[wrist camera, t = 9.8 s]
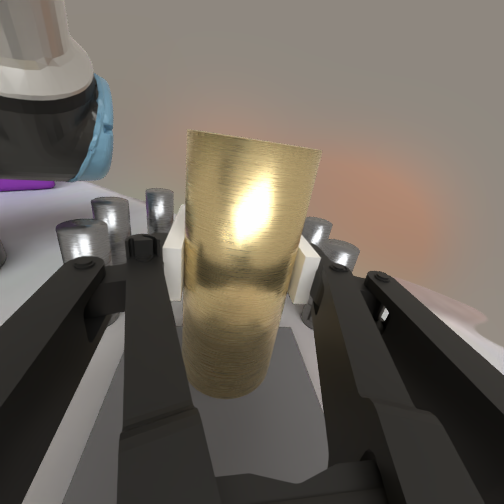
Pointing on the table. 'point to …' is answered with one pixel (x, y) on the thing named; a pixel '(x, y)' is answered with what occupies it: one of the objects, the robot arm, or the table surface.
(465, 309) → the table surface
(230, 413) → the mat
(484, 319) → the table surface
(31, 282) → the table surface
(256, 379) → the brass canister
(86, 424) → the table surface
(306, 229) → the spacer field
